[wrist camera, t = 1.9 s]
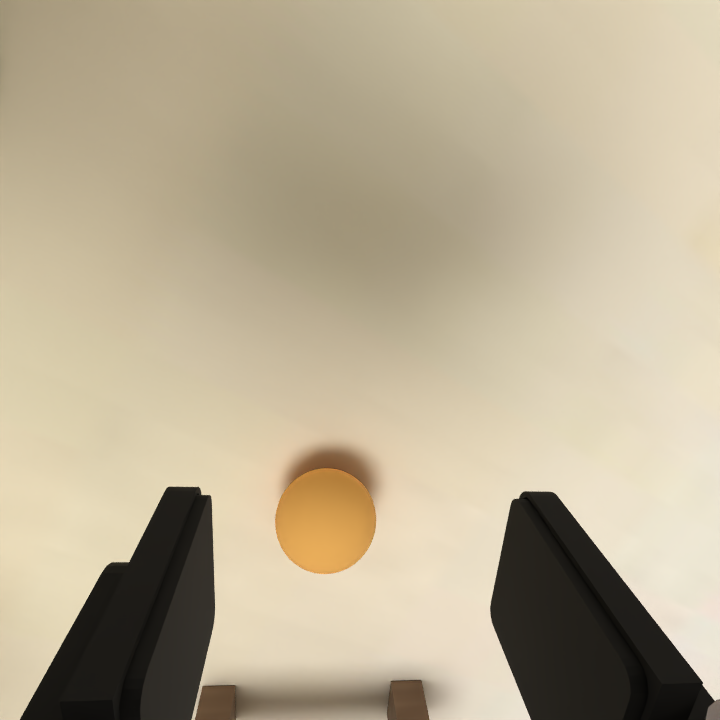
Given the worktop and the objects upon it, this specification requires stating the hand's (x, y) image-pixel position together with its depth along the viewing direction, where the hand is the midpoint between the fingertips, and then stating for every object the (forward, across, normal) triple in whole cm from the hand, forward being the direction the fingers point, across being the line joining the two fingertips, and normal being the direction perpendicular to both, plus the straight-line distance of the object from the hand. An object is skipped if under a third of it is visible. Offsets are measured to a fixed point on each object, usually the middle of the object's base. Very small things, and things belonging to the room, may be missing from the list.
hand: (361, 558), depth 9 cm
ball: (+13, 0, +9) cm, 16 cm away
